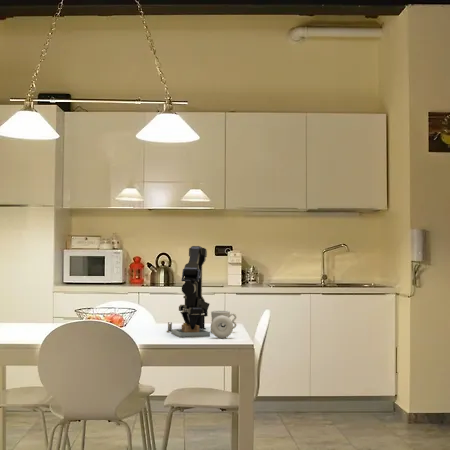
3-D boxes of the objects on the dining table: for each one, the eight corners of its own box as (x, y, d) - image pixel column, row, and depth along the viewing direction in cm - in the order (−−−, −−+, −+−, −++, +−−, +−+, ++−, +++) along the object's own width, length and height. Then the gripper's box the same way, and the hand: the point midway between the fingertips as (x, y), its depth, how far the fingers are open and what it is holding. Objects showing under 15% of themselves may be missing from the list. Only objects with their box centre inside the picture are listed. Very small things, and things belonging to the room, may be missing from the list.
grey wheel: (233, 338, 295) (233, 315, 295) (232, 339, 291) (233, 316, 292) (210, 337, 295) (211, 314, 296) (210, 338, 292) (210, 315, 292)
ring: (181, 331, 305) (181, 322, 305) (194, 330, 307) (194, 322, 307) (185, 332, 299) (185, 323, 299) (199, 332, 301) (199, 323, 301)
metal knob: (171, 331, 315) (172, 322, 315) (173, 332, 312) (173, 322, 312) (165, 331, 314) (165, 322, 314) (167, 332, 311) (167, 322, 311)
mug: (212, 334, 308) (213, 312, 308) (208, 331, 317) (209, 310, 317) (238, 333, 311) (239, 312, 311) (234, 331, 320) (234, 310, 320)
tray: (200, 332, 312) (200, 328, 312) (210, 336, 299) (210, 331, 299) (171, 333, 307) (171, 329, 307) (180, 337, 294) (180, 332, 294)
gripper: (214, 295, 298) (214, 330, 297) (201, 292, 315) (200, 325, 315) (190, 295, 294) (190, 331, 293) (178, 292, 311) (178, 326, 311)
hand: (190, 328), depth 303 cm, fingers closed on ring, 6 cm apart
